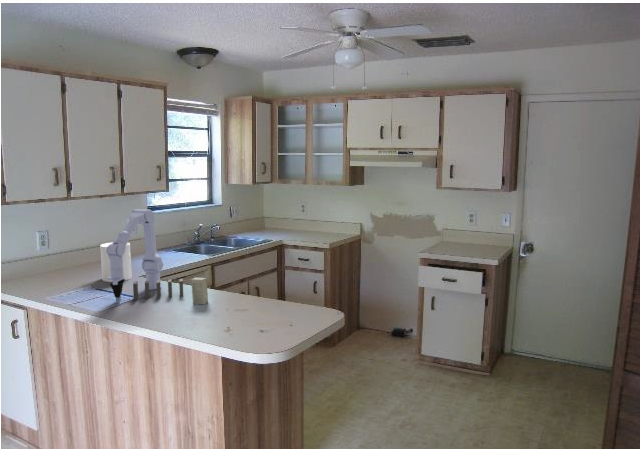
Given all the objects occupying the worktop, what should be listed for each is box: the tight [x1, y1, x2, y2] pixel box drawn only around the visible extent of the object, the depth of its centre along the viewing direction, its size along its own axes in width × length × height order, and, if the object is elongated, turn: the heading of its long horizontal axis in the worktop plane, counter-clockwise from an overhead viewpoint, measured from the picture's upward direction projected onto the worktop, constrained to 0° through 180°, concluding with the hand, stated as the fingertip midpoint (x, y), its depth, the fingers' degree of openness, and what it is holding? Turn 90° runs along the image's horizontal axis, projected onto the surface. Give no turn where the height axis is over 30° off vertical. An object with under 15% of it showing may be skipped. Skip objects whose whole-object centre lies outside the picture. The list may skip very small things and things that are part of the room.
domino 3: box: [144, 280, 151, 300], centre depth 250 cm, size 5×2×8 cm, turn 14°
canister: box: [99, 241, 133, 283], centre depth 287 cm, size 16×16×20 cm
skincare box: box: [191, 277, 209, 305], centre depth 241 cm, size 6×4×12 cm
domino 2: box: [132, 280, 139, 301], centre depth 249 cm, size 5×2×8 cm, turn 14°
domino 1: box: [115, 293, 122, 304], centre depth 242 cm, size 5×2×8 cm, turn 14°
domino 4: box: [156, 279, 162, 299], centre depth 251 cm, size 5×2×8 cm, turn 14°
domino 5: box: [167, 279, 173, 298], centre depth 253 cm, size 5×2×8 cm, turn 14°
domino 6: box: [178, 278, 184, 298], centre depth 254 cm, size 5×2×8 cm, turn 14°
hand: (118, 295), depth 242 cm, fingers closed on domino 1, 5 cm apart
